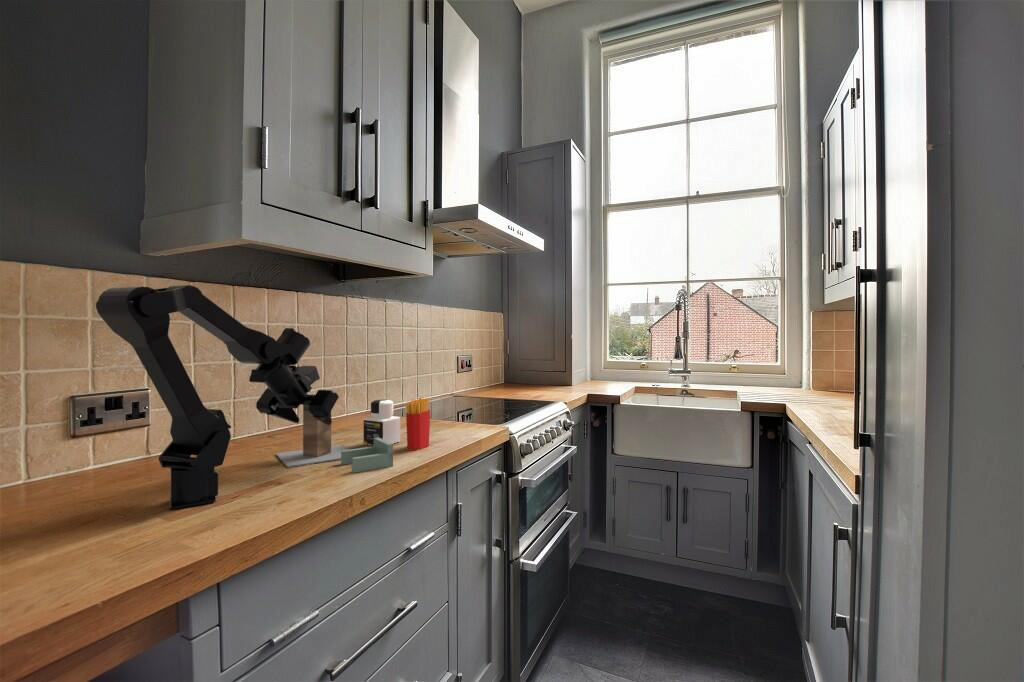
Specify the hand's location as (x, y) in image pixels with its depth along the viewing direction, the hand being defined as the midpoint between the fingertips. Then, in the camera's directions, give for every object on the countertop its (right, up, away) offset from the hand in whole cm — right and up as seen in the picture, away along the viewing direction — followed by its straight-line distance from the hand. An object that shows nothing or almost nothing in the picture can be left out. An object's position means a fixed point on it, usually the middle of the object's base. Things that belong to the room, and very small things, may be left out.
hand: (314, 422), depth 112 cm
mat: (0, -8, +1) cm, 9 cm away
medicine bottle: (+12, -9, +15) cm, 21 cm away
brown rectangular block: (0, -8, +1) cm, 8 cm away
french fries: (+23, -9, +11) cm, 27 cm away
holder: (+15, -8, -7) cm, 18 cm away
